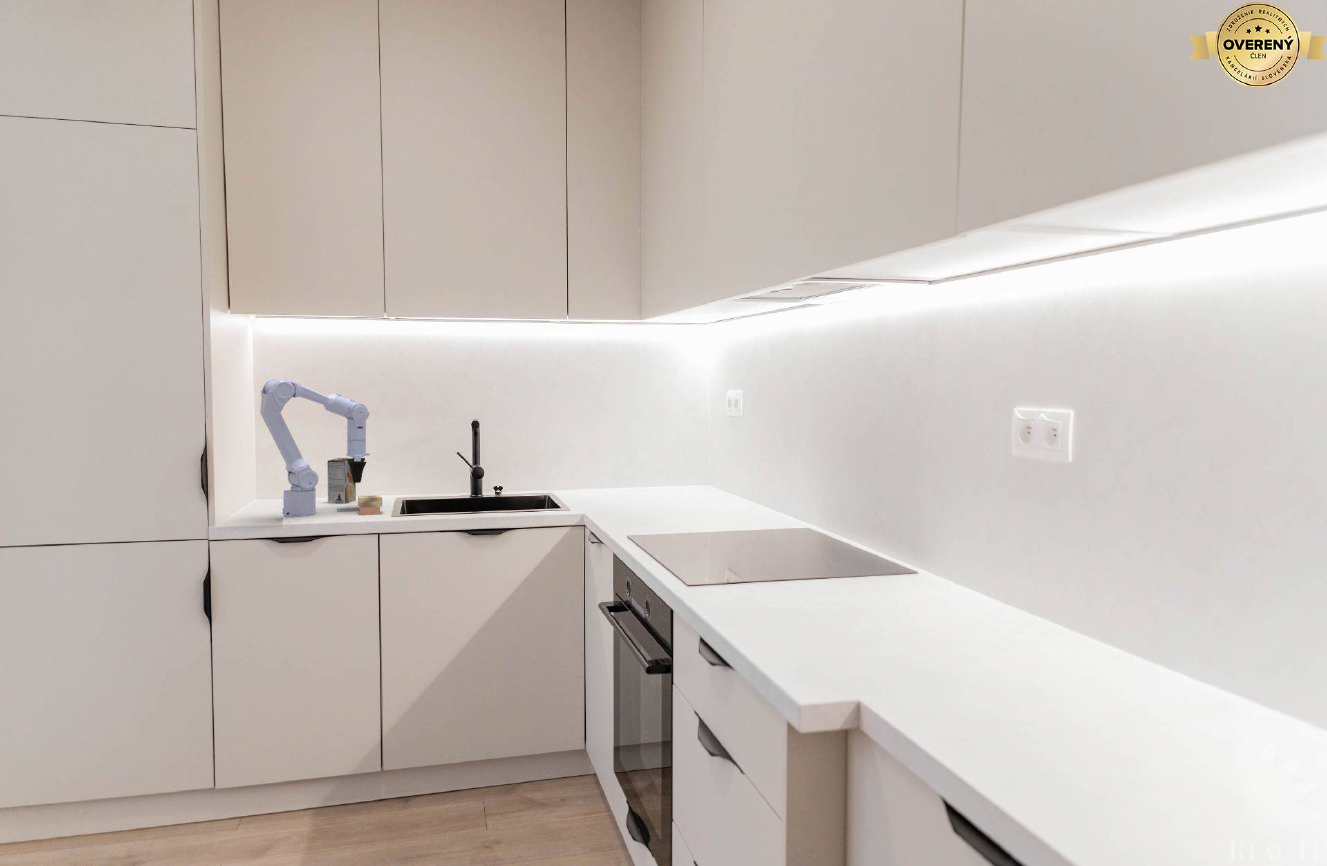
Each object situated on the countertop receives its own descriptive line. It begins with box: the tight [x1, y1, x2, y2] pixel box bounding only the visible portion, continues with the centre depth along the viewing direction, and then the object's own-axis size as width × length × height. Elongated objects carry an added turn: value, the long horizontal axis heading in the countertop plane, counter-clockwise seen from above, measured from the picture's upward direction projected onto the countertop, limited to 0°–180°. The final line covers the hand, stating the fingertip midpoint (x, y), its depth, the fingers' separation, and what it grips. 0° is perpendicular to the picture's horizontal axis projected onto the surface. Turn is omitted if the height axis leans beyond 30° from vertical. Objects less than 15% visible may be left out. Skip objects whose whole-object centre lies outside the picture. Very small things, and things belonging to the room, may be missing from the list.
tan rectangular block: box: [357, 494, 383, 508], centre depth 261 cm, size 7×5×3 cm
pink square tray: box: [358, 507, 381, 516], centre depth 261 cm, size 6×6×4 cm
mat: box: [336, 507, 359, 513], centre depth 267 cm, size 9×7×1 cm
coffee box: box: [327, 457, 357, 505], centre depth 283 cm, size 9×6×16 cm
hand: (356, 481), depth 268 cm, fingers open, 7 cm apart
